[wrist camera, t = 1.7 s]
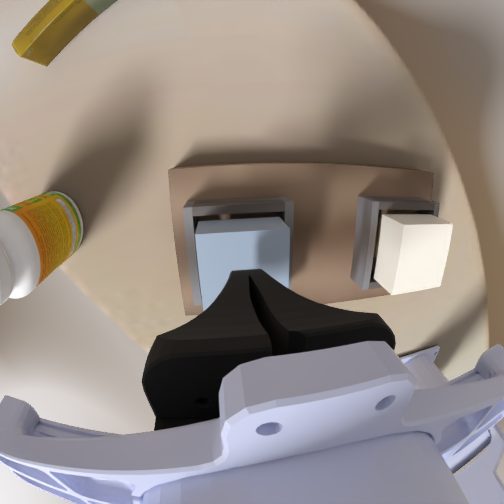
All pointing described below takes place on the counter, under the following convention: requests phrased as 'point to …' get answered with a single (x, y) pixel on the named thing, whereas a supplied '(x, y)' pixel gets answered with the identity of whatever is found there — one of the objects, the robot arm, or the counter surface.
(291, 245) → the key board
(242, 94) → the counter surface
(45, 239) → the supplement bottle
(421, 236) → the cream key
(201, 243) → the blue key
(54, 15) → the medication box
